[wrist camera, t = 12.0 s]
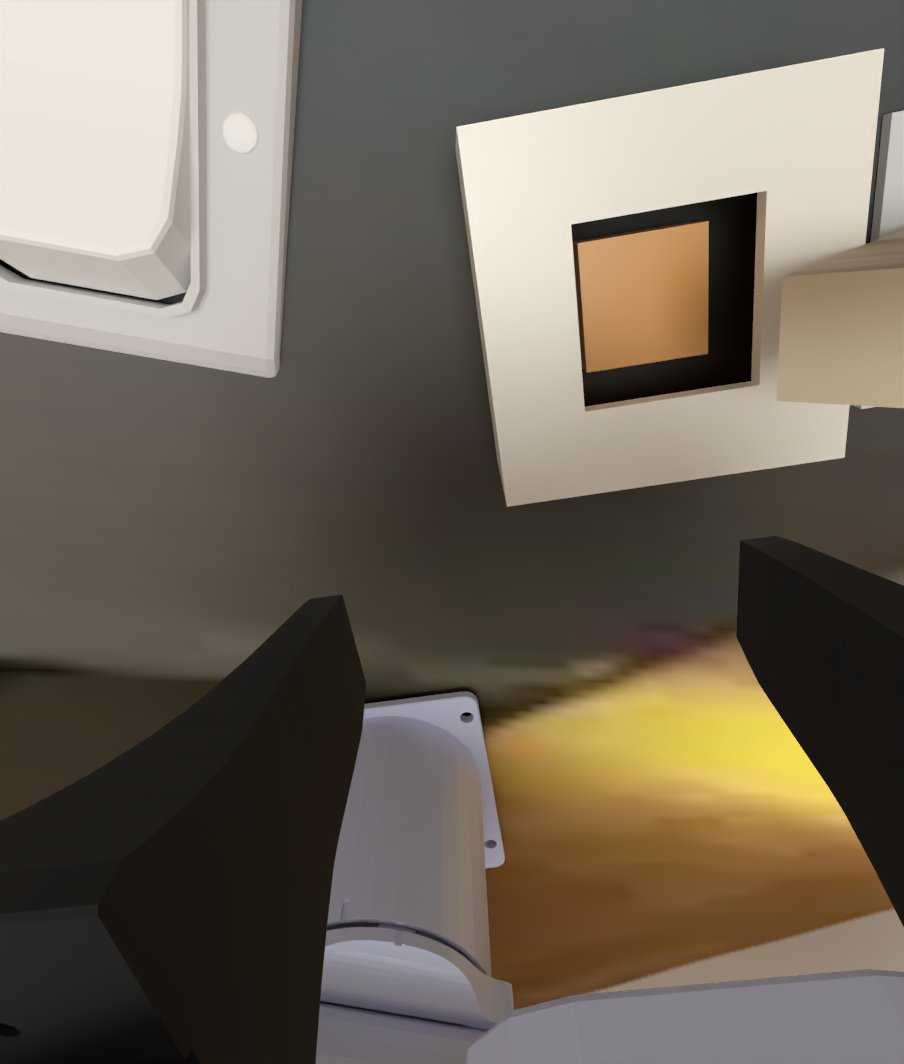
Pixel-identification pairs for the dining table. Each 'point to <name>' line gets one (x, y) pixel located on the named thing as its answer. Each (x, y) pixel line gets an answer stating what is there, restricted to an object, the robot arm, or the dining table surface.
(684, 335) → the button
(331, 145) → the dining table surface
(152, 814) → the robot arm
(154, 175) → the light switch
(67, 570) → the dining table surface
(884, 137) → the mat
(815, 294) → the brown wooden bar
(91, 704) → the dining table surface
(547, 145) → the frame
